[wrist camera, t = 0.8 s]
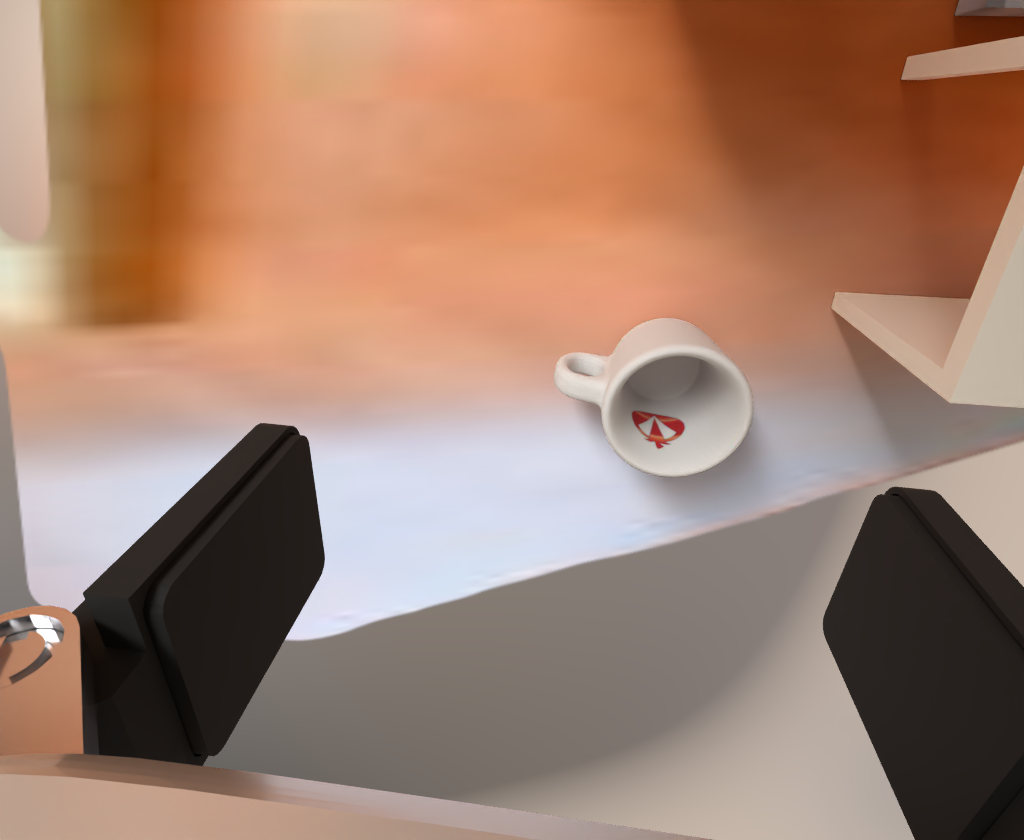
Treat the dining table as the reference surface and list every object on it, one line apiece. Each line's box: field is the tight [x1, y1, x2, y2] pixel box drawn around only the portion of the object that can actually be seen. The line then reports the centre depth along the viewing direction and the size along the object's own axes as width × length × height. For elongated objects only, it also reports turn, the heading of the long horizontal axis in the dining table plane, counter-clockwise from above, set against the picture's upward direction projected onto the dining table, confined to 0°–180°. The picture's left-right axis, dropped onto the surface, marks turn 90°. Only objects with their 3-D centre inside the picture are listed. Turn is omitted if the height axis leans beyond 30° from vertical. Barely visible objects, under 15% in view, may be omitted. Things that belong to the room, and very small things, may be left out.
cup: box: [554, 318, 753, 477], centre depth 35 cm, size 11×8×8 cm
